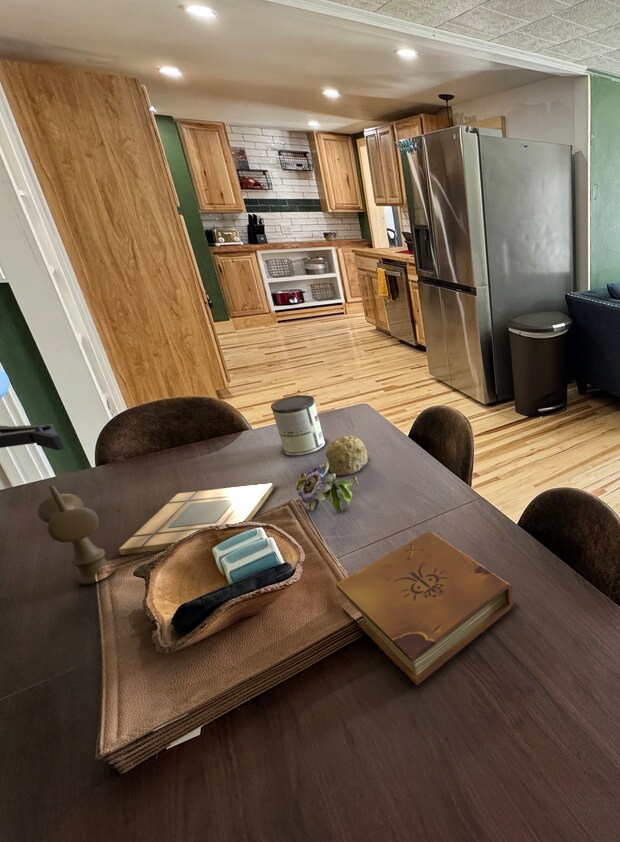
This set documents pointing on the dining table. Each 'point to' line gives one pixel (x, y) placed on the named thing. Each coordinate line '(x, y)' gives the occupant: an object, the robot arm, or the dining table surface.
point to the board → (196, 515)
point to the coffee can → (298, 424)
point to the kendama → (74, 531)
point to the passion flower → (323, 488)
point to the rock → (346, 455)
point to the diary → (426, 603)
